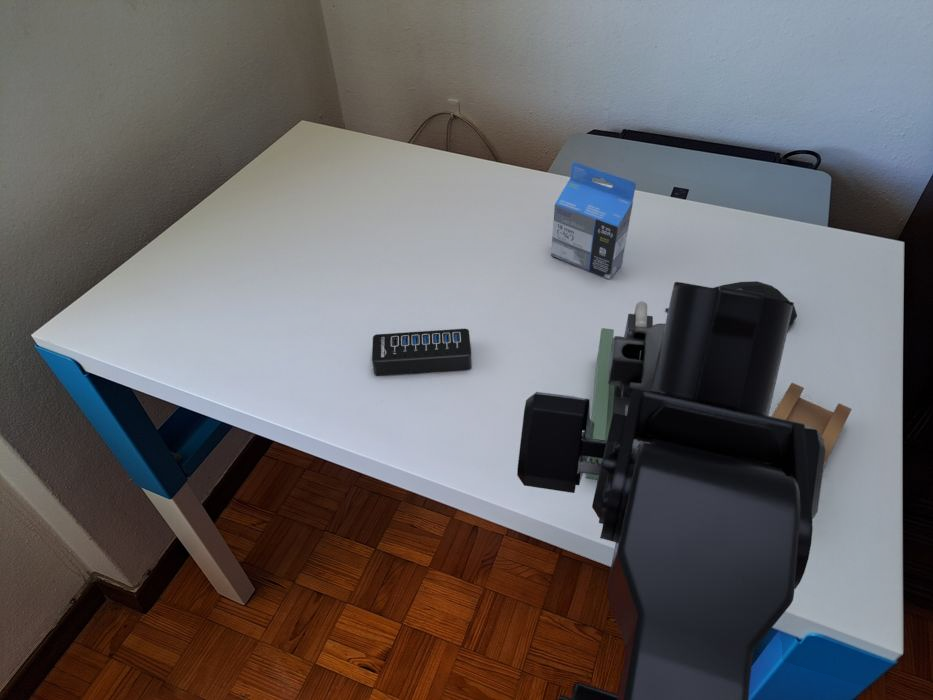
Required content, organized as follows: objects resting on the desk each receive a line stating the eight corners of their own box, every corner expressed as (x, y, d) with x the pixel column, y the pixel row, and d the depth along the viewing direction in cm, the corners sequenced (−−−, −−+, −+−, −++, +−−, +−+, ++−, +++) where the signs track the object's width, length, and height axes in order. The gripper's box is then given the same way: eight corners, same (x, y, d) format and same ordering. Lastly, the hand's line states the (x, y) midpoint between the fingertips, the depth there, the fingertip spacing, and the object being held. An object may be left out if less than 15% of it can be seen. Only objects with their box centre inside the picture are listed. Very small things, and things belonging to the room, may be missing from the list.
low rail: (786, 538, 61) (794, 524, 60) (722, 503, 64) (728, 488, 62) (842, 424, 70) (852, 408, 68) (784, 397, 73) (791, 382, 71)
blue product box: (548, 256, 90) (554, 174, 81) (563, 241, 93) (571, 160, 84) (609, 280, 87) (622, 197, 78) (623, 264, 89) (637, 181, 80)
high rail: (648, 487, 66) (657, 457, 62) (585, 477, 66) (590, 447, 63) (651, 366, 76) (658, 334, 73) (596, 359, 77) (601, 327, 74)
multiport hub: (471, 369, 77) (471, 355, 75) (374, 376, 77) (371, 362, 75) (469, 341, 80) (468, 327, 78) (375, 348, 80) (372, 333, 78)
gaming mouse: (662, 293, 85) (668, 268, 82) (787, 299, 83) (797, 273, 80) (667, 329, 80) (674, 304, 77) (799, 335, 79) (810, 310, 76)
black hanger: (635, 429, 66) (654, 348, 58) (612, 426, 66) (627, 345, 58) (637, 368, 71) (655, 287, 63) (616, 366, 72) (630, 285, 64)
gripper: (882, 352, 36) (790, 349, 51) (528, 313, 39) (542, 322, 54) (854, 561, 36) (771, 496, 52) (505, 507, 39) (526, 460, 55)
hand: (650, 438), depth 53 cm, fingers open, 9 cm apart
